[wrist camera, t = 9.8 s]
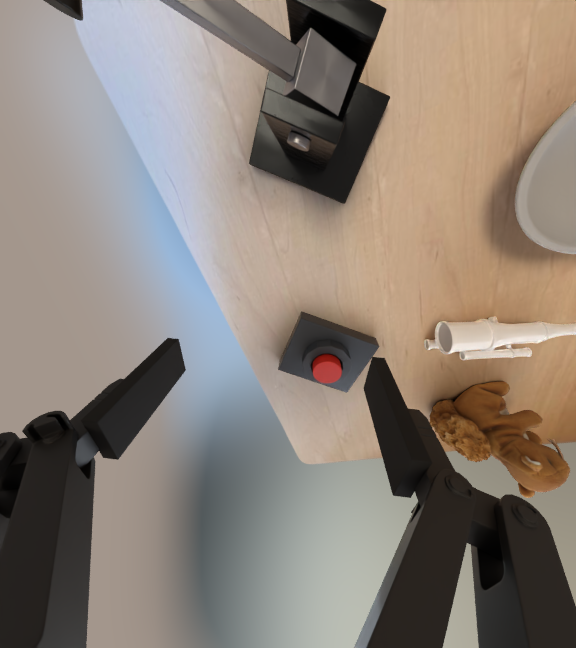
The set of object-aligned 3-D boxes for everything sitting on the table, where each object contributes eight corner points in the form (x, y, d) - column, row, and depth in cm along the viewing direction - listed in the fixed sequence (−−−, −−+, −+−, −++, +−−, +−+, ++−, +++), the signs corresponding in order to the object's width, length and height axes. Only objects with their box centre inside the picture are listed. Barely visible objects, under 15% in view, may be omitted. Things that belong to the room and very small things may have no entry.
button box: (279, 361, 37) (276, 377, 34) (301, 311, 33) (300, 324, 29) (345, 383, 38) (348, 401, 35) (375, 338, 34) (383, 354, 30)
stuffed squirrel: (500, 421, 40) (578, 511, 28) (415, 423, 42) (454, 508, 30) (518, 378, 35) (619, 466, 23) (421, 384, 37) (470, 466, 26)
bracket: (251, 165, 24) (194, 132, 12) (276, 49, 20) (226, -173, 8) (343, 203, 25) (372, 207, 13) (386, 101, 21) (487, -29, 9)
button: (308, 370, 33) (308, 378, 32) (319, 350, 31) (319, 357, 30) (333, 378, 34) (334, 387, 32) (345, 359, 32) (347, 367, 30)
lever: (50, 9, 9) (13, -27, 8) (21, -228, 7) (-44, -363, 5) (312, 147, 15) (327, 146, 13) (347, 42, 13) (371, 23, 11)
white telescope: (525, 319, 32) (537, 357, 30) (420, 327, 34) (427, 362, 33) (586, 299, 24) (607, 347, 23) (446, 310, 26) (457, 355, 25)
